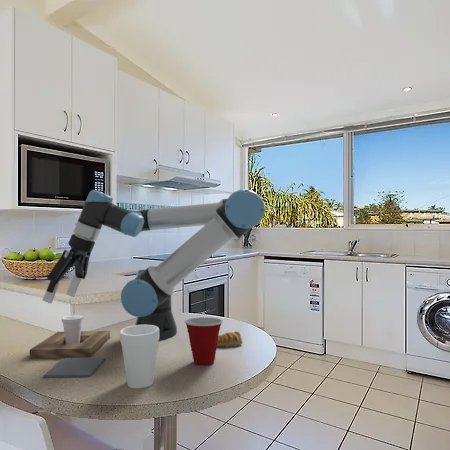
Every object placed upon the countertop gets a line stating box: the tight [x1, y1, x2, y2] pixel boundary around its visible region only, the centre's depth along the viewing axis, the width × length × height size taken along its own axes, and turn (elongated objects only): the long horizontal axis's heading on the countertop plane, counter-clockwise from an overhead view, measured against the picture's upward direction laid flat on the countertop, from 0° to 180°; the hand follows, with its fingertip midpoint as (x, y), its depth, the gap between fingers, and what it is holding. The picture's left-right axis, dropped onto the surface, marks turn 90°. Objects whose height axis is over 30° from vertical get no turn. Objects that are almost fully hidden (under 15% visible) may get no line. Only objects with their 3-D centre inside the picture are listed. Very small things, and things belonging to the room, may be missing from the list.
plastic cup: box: [184, 316, 223, 367], centre depth 102 cm, size 11×11×12 cm
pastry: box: [217, 331, 243, 348], centre depth 117 cm, size 9×7×4 cm
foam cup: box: [119, 324, 160, 389], centre depth 89 cm, size 10×9×13 cm
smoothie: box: [61, 303, 84, 344], centre depth 116 cm, size 6×6×14 cm
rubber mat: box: [42, 356, 106, 378], centre depth 99 cm, size 12×12×1 cm
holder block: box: [29, 330, 111, 359], centre depth 116 cm, size 18×18×2 cm
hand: (59, 298), depth 116 cm, fingers open, 13 cm apart
